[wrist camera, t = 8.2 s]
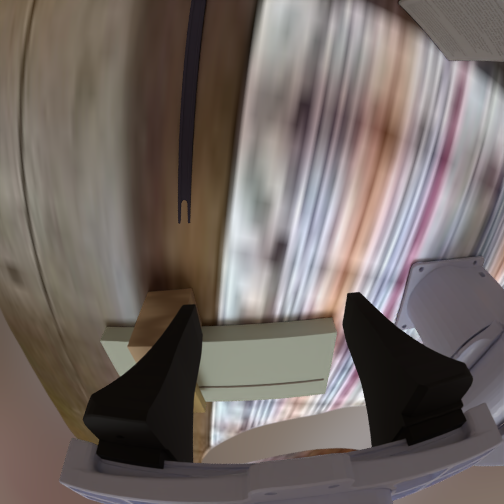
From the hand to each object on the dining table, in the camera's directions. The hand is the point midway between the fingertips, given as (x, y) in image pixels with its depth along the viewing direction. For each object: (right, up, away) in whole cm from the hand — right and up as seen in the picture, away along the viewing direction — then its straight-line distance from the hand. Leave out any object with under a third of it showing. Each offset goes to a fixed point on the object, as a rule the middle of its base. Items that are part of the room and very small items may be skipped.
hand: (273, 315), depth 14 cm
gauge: (-7, -6, +14) cm, 17 cm away
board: (-4, -8, +15) cm, 18 cm away
